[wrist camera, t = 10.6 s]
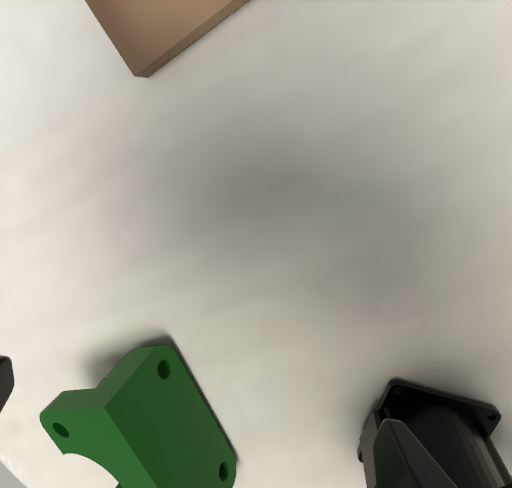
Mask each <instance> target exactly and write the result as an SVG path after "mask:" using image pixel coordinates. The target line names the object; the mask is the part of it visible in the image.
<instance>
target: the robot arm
mask: <svg viewBox="0 0 512 488" xmlns="http://www.w3.org/2000/svg"><path fill="white" fill-rule="evenodd" d="M13 387H14V375H13V369H12V362H11V359H10V358H9V357H7V356H2V355H0V412H1V411H2V409H3V407H4V405H5V403H6V402H7V400H8V398H9V396H10V394H11V392H12V390H13ZM396 388H400V389H399V390H394V389H396ZM489 414H492V415H489ZM500 419H501V414H500V413H499V411H498V409H497V408H496V407H494V406H492V405H488V404H484V403H481V402H477V401H473V400H470V399H466V398H462V397H459V396H455V395H451V394H448V393H444V392H440V391H437V390H433V389H429V388H426V387H422V386H418V385H415V384H411V383H407V382H404V381H400V380H393V381H391V382H390V383H389V384H388V386H387V388H386V390H385V392H384V394H383V397H382V399H381V401H380V403H379V405H378V407H377V408H375V409H374V410H373V411H372V413H371V415H370V417H369V419H368V421H367V424H366V426H365V428H364V430H363V432H362V434H361V437H360V446H359V449H358V451H357V454H358V459H359V461H360V462H362V463H363V464H364V471H365V478H366V484H367V488H512V478H511V476H510V474H509V472H508V470H507V469H506V467H505V465H504V463H503V461H502V459H501V457H500V456H499V454H498V452H497V450H496V448H495V446H494V444H493V442H492V441H491V439H490V435H491V434H492V432H493V430H494V429H495V427H496V426H497V424H498V423H499V421H500Z"/></svg>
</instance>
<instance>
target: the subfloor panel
mask: <svg viewBox="0 0 512 488" xmlns="http://www.w3.org/2000/svg"><path fill="white" fill-rule="evenodd" d="M85 1H86V3H87V4H88V6H89V7H90V9H91V10H92V12H93V14H94V15H95V17H96V18H97V20H98V21H99V23H100V24H101V26H102V27H103V29H104V30H105V32H106V34H107V35H108V37H109V38H110V40H111V41H112V43H113V44H114V46H115V47H116V49H117V50H118V52H119V54H120V55H121V57H122V58H123V60H124V61H125V63H126V64H127V66H128V67H129V69H130V70H131V72H132V74H133V75H134V76H137V77H146V78H147V77H149V76H150V75H151V74H153V73H154V72H155V71H157V70H158V69H159V68H161V67H162V66H163V65H165V64H166V63H167V62H169V61H170V60H171V59H173V58H174V57H175V56H176V55H178V54H179V53H180V52H182V51H183V50H184V49H186V48H187V47H188V46H190V45H191V44H192V43H194V42H195V41H196V40H198V39H199V38H200V37H201V36H203V35H204V34H205V33H207V32H208V31H209V30H211V29H212V28H213V27H215V26H216V25H217V24H219V23H220V22H221V21H223V20H224V19H225V18H227V17H228V16H229V15H230V14H232V13H233V12H234V11H236V10H237V9H238V8H240V7H241V6H242V5H244V4H245V3H246V2H248V1H249V0H85Z"/></svg>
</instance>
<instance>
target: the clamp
mask: <svg viewBox="0 0 512 488" xmlns="http://www.w3.org/2000/svg"><path fill="white" fill-rule="evenodd" d="M40 422H41V424H42V426H43V428H44V429H45V430H46V432H47V433H48V434H49V436H50V437H51V439H52V440H53V441H54V443H55V444H56V445H57V447H58V448H59V449H60V451H61V452H62V453H63V455H64V454H67V453H74V454H79V455H82V456H84V457H87V458H89V459H91V460H93V461H94V462H96V463H98V464H99V465H101V466H102V467H103V468H105V469H106V470H107V471H108V472H109V473H110V474H111V475H112V476H113V477H114V478H115V479H116V480H117V481H118V482H119V484H118V485H117V487H116V488H232V487H233V485H234V482H235V477H236V461H235V457H234V454H233V452H232V450H231V448H230V447H229V445H228V443H227V441H226V440H225V438H224V436H223V434H222V433H221V431H220V429H219V427H218V426H217V424H216V422H215V420H214V418H213V417H212V415H211V413H210V411H209V410H208V408H207V406H206V404H205V403H204V401H203V399H202V397H201V396H200V394H199V392H198V390H197V388H196V387H195V385H194V383H193V381H192V380H191V378H190V376H189V374H188V373H187V371H186V369H185V367H184V366H183V364H182V362H181V360H180V358H179V357H178V355H177V353H176V352H175V350H174V349H173V348H172V347H170V346H168V345H158V346H151V347H144V348H137V349H134V350H132V351H130V352H129V353H128V354H127V355H126V356H125V357H124V358H123V359H122V360H121V361H120V362H119V363H118V365H117V366H116V367H115V368H114V369H113V370H112V371H111V372H110V373H109V374H108V375H107V376H106V377H105V378H104V379H103V381H102V382H101V383H100V384H99V385H98V386H97V387H96V388H93V389H82V390H70V391H63V392H61V393H60V394H59V395H58V396H57V397H56V398H55V399H54V400H53V401H52V402H51V403H50V404H49V405H48V406H47V407H46V408H45V409H44V410H43V411H42V412H41V413H40Z"/></svg>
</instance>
